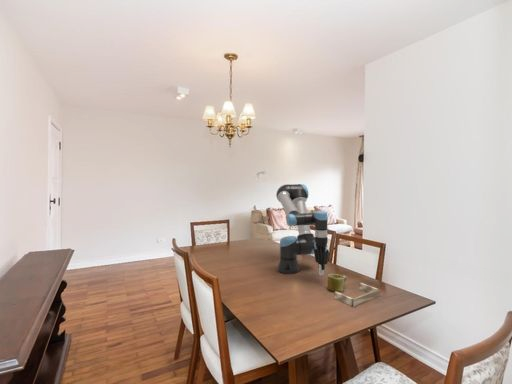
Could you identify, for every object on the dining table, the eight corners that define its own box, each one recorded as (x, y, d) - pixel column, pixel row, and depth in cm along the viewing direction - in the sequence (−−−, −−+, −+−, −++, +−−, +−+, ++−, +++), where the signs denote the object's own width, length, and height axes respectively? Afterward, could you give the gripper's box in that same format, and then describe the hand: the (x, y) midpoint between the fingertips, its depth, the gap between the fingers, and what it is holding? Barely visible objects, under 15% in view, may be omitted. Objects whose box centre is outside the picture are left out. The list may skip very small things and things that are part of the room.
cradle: (334, 298, 149) (334, 291, 149) (360, 288, 161) (360, 282, 161) (353, 306, 139) (353, 300, 139) (380, 295, 151) (380, 289, 151)
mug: (332, 291, 153) (332, 273, 156) (323, 290, 162) (324, 273, 165) (352, 293, 155) (352, 275, 158) (342, 292, 165) (342, 275, 168)
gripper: (309, 235, 174) (309, 273, 174) (324, 239, 163) (325, 278, 164) (317, 234, 178) (318, 270, 179) (333, 237, 167) (334, 276, 168)
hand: (321, 274), depth 171 cm, fingers closed
